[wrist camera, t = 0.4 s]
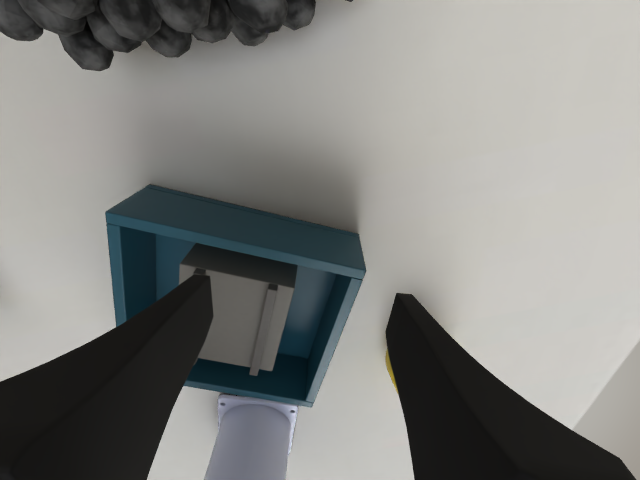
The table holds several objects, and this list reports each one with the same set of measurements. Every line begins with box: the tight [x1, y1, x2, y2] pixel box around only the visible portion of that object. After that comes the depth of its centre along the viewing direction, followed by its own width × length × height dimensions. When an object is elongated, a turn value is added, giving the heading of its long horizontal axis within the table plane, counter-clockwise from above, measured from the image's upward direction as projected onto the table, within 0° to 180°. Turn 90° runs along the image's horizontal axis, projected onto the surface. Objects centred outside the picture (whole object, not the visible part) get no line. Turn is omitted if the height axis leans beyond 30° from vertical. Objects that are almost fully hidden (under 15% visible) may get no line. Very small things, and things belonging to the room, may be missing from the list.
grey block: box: [179, 243, 298, 376], centre depth 21 cm, size 8×7×4 cm
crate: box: [105, 184, 366, 407], centre depth 22 cm, size 13×14×5 cm
